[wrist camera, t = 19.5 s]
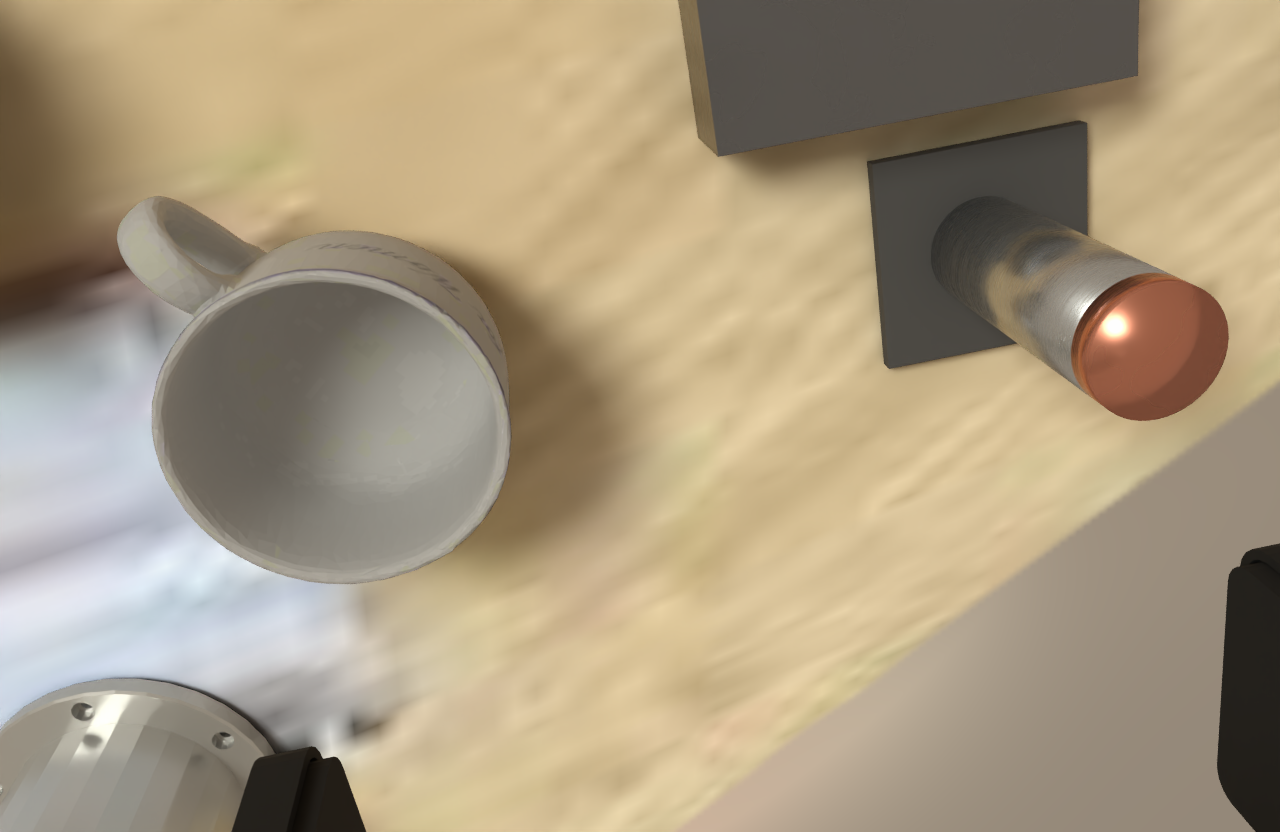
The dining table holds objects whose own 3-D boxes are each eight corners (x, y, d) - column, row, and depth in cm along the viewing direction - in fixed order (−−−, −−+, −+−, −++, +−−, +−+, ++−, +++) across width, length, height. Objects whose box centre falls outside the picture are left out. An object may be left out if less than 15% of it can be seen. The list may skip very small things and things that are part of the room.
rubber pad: (1080, 324, 43) (1087, 328, 43) (884, 363, 43) (888, 368, 42) (1079, 120, 40) (1086, 122, 39) (867, 161, 40) (872, 164, 39)
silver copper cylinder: (1032, 186, 40) (1231, 269, 29) (1035, 289, 42) (1225, 404, 31) (927, 207, 40) (1087, 298, 29) (934, 310, 42) (1089, 433, 31)
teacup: (562, 400, 42) (574, 494, 35) (323, 530, 43) (286, 647, 36) (358, 70, 37) (320, 98, 29) (90, 226, 38) (-11, 292, 30)
